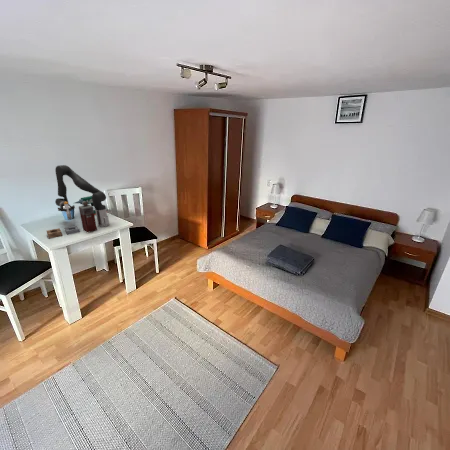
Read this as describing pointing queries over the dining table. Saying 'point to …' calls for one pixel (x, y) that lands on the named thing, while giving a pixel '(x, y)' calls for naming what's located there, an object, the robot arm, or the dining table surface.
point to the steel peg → (67, 210)
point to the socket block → (72, 230)
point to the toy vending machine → (87, 217)
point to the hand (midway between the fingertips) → (68, 210)
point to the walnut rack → (54, 233)
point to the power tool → (87, 199)
